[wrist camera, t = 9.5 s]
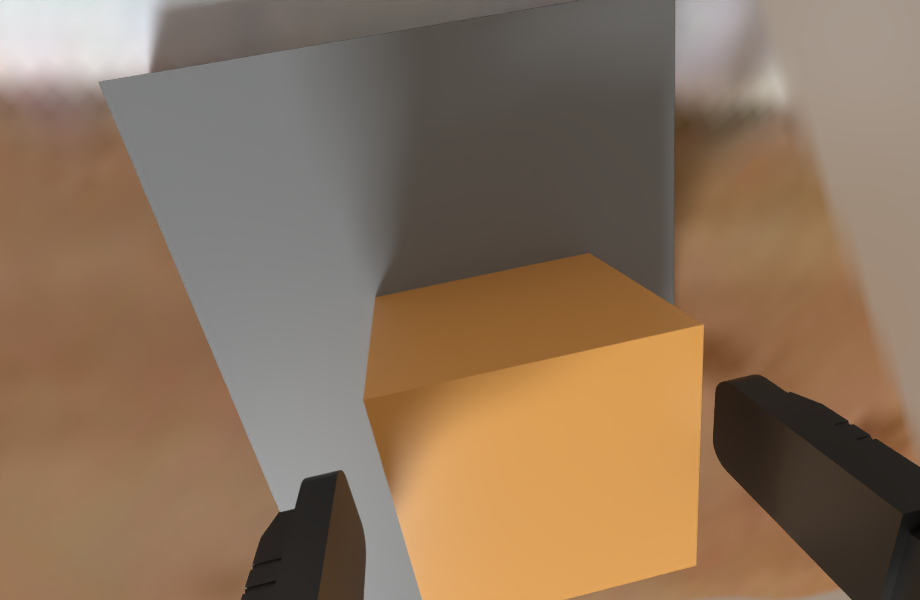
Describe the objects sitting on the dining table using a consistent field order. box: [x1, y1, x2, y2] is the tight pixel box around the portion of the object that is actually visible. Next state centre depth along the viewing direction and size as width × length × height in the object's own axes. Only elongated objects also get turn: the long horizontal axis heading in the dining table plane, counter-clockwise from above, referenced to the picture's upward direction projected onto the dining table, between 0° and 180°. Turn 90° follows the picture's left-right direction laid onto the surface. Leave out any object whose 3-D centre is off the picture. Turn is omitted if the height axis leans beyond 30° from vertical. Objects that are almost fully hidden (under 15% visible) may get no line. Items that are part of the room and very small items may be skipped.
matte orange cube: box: [363, 253, 704, 600], centre depth 11 cm, size 6×6×5 cm
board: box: [99, 0, 675, 600], centre depth 13 cm, size 18×13×6 cm
